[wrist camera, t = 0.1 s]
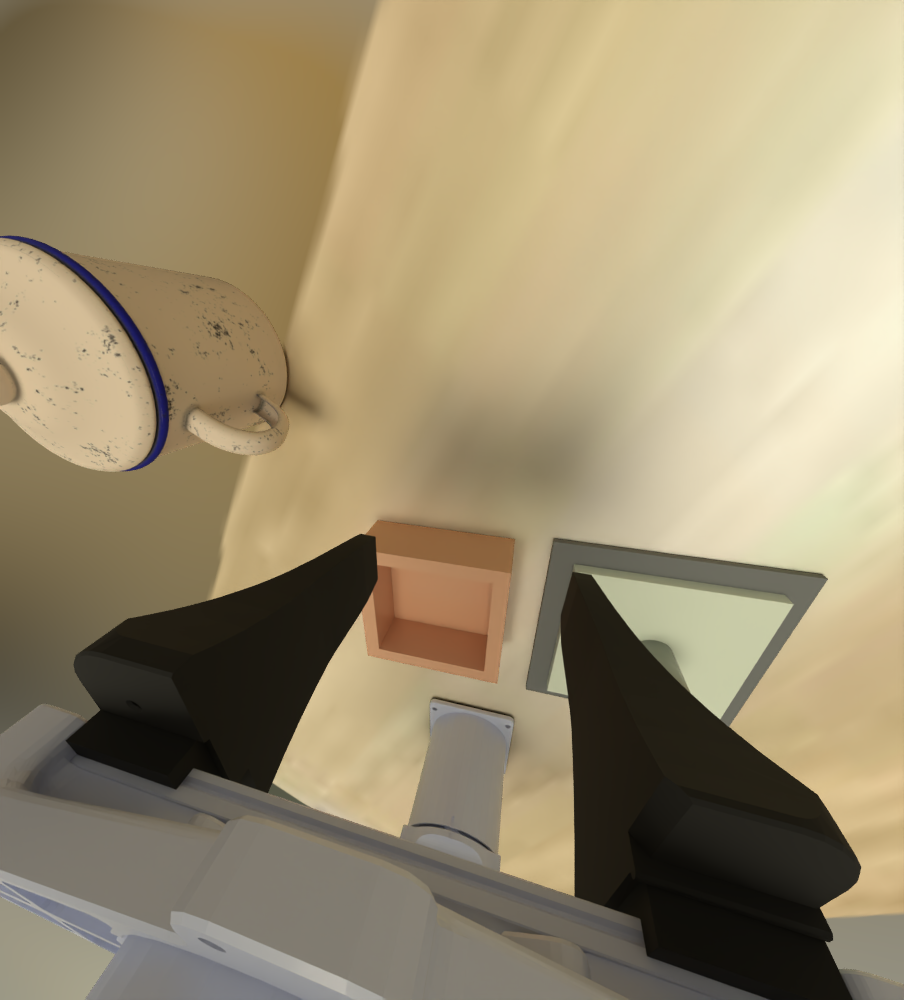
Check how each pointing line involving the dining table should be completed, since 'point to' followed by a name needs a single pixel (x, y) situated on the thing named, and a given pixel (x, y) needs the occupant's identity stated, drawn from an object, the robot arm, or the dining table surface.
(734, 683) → the lid
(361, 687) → the dining table surface
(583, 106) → the dining table surface
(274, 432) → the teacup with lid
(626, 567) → the mat
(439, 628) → the dish
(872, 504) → the dining table surface
